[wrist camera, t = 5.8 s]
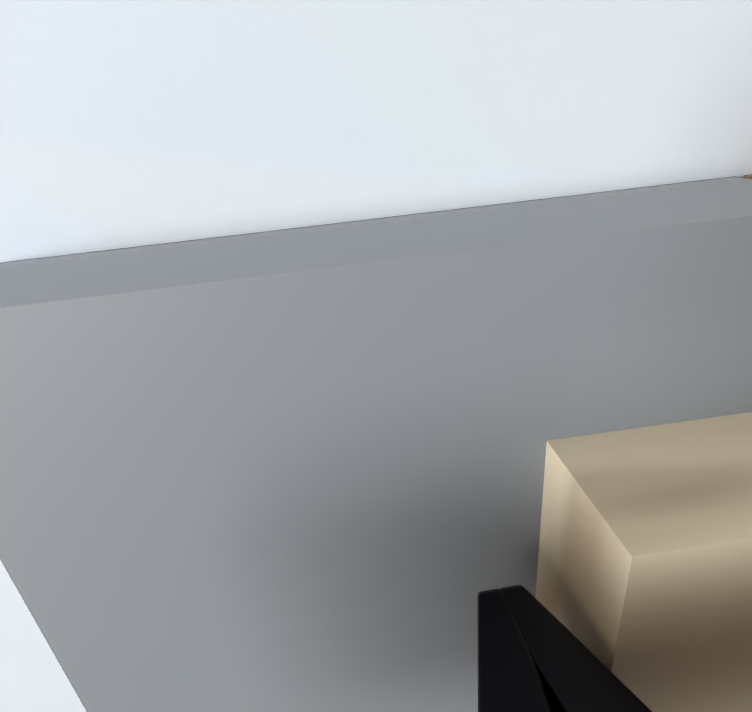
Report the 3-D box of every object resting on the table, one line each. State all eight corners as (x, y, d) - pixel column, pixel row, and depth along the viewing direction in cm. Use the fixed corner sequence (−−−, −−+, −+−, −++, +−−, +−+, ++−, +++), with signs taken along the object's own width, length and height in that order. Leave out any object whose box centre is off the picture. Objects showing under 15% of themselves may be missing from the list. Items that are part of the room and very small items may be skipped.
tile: (772, 612, 11) (888, 736, 9) (530, 654, 11) (589, 794, 9) (851, 396, 9) (1036, 491, 7) (546, 440, 8) (631, 557, 6)
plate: (650, 598, 15) (722, 702, 13) (174, 679, 14) (142, 809, 12) (734, 176, 10) (889, 199, 7) (-2, 263, 9) (-134, 324, 6)
